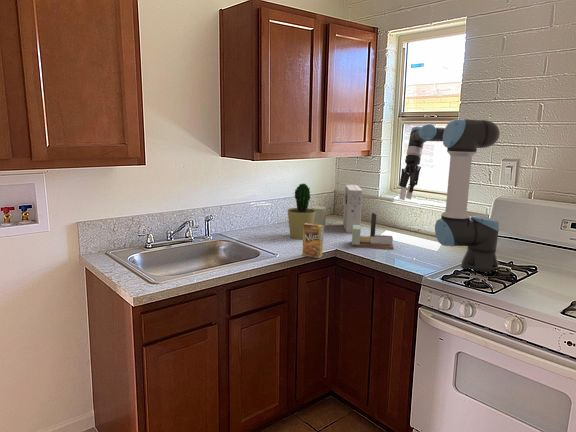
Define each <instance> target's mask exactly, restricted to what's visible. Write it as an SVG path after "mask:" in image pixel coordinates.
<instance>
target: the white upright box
mask: <svg viewBox="0 0 576 432" xmlns="http://www.w3.org/2000/svg"><path fill="white" fill-rule="evenodd" d="M344 186H345V187H344V199H343V202H344V203H343V215H342V217H343V218H342V224H343V227H344V230H345V232H346V234H352V232H353V225H361V221H362V220H361V219H362V203H363V189H362V188H361V187H360V186H358V184H357V185H356V184H345V185H344Z"/></svg>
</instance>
